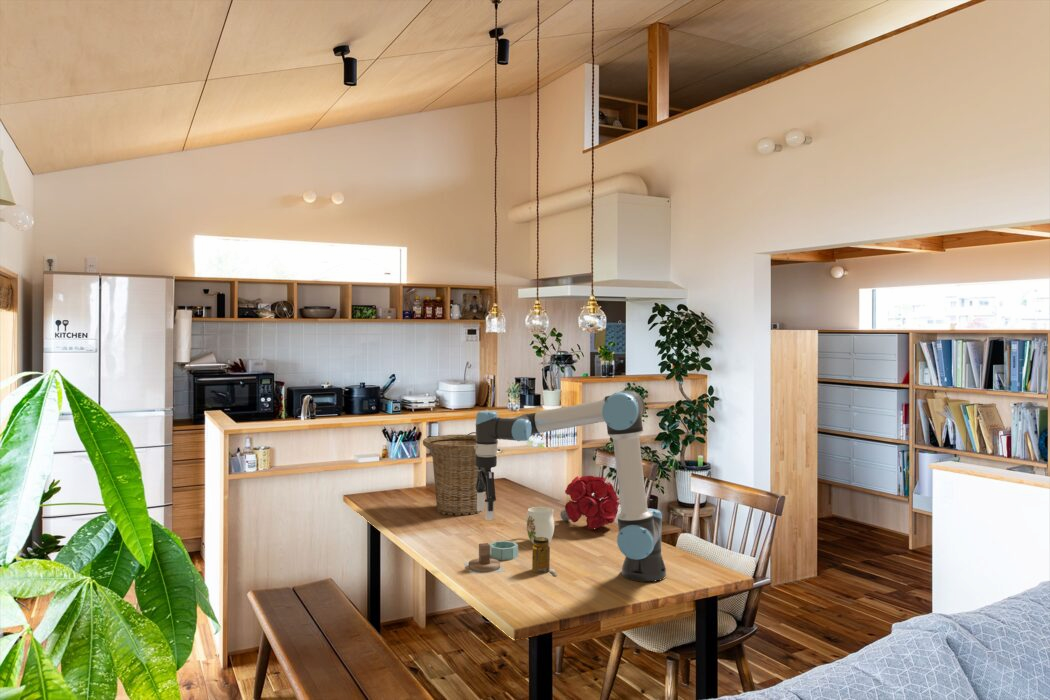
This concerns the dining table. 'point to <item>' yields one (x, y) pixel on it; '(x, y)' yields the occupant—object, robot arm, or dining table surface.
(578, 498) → the bouquet
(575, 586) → the dining table surface
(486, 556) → the lid
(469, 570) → the mat
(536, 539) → the condiment
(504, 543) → the bowl
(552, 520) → the pitcher
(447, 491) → the wicker basket
